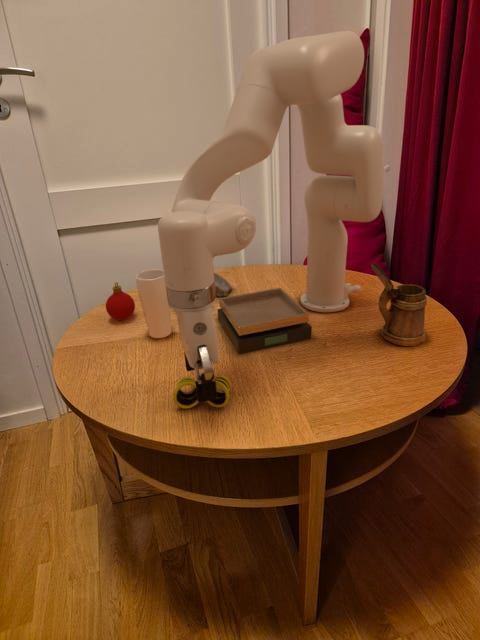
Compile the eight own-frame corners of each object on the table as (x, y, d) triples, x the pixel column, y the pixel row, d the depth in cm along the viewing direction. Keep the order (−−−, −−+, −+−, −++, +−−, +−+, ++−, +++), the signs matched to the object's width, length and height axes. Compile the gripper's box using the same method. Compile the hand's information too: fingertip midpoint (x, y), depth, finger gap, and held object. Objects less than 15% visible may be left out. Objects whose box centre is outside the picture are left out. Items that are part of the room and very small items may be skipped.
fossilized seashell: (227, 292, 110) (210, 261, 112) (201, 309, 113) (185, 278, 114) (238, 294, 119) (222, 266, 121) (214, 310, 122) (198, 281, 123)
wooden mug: (355, 331, 92) (362, 255, 84) (411, 324, 94) (423, 249, 86) (372, 351, 85) (382, 270, 76) (433, 343, 86) (449, 262, 78)
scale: (281, 307, 105) (281, 295, 104) (311, 338, 90) (312, 324, 89) (218, 320, 101) (217, 306, 99) (239, 354, 86) (238, 339, 85)
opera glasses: (231, 395, 75) (230, 370, 74) (230, 409, 70) (228, 383, 69) (179, 397, 76) (176, 372, 74) (174, 411, 70) (171, 385, 69)
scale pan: (280, 294, 103) (280, 287, 102) (308, 321, 89) (309, 313, 88) (219, 305, 99) (218, 298, 98) (239, 336, 85) (238, 327, 84)
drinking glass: (169, 341, 92) (159, 280, 86) (141, 340, 94) (130, 279, 87) (178, 327, 98) (171, 269, 91) (152, 326, 100) (142, 268, 93)
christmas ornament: (132, 324, 101) (125, 287, 96) (104, 325, 102) (96, 288, 97) (140, 312, 107) (133, 276, 103) (114, 312, 108) (106, 277, 103)
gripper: (229, 311, 57) (235, 408, 65) (202, 272, 72) (209, 355, 80) (176, 321, 55) (189, 419, 63) (159, 278, 70) (171, 362, 78)
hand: (200, 383), depth 71 cm, fingers open, 9 cm apart
